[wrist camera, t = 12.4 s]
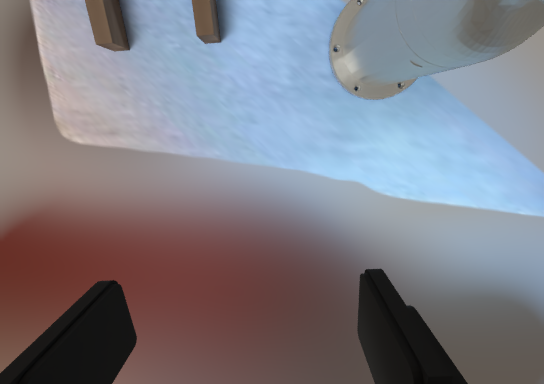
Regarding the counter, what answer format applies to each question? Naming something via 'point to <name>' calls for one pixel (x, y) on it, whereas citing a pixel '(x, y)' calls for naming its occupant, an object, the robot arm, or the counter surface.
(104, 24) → the walnut channel
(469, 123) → the counter surface
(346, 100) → the counter surface
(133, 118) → the counter surface
